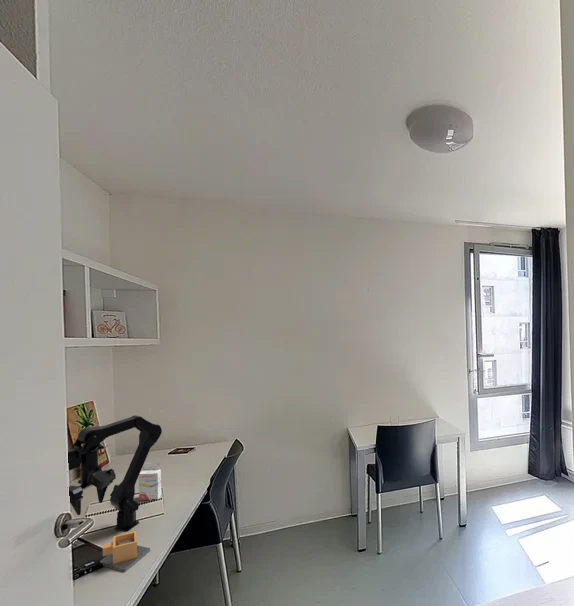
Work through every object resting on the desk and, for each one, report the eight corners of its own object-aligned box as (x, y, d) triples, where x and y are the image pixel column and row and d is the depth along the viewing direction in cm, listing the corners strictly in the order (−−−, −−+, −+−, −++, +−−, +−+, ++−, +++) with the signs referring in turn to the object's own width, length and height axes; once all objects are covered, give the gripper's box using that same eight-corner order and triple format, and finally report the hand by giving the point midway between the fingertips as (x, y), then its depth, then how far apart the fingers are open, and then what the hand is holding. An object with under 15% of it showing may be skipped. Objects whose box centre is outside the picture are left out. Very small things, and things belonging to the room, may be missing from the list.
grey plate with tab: (125, 545, 132) (124, 532, 132) (150, 551, 128) (149, 537, 128) (99, 564, 121) (98, 550, 122) (125, 571, 117) (125, 556, 118)
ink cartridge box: (138, 501, 165) (138, 467, 166) (142, 495, 170) (142, 462, 171) (158, 499, 166) (157, 465, 167) (161, 494, 171) (160, 461, 172)
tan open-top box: (103, 554, 125) (103, 538, 125) (136, 546, 129) (136, 531, 130) (102, 566, 119) (102, 550, 119) (137, 557, 123) (136, 541, 123)
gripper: (83, 476, 124) (84, 525, 123) (126, 457, 141) (127, 499, 141) (59, 473, 128) (59, 520, 127) (104, 454, 145) (104, 496, 145)
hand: (90, 508), depth 135 cm, fingers open, 9 cm apart
